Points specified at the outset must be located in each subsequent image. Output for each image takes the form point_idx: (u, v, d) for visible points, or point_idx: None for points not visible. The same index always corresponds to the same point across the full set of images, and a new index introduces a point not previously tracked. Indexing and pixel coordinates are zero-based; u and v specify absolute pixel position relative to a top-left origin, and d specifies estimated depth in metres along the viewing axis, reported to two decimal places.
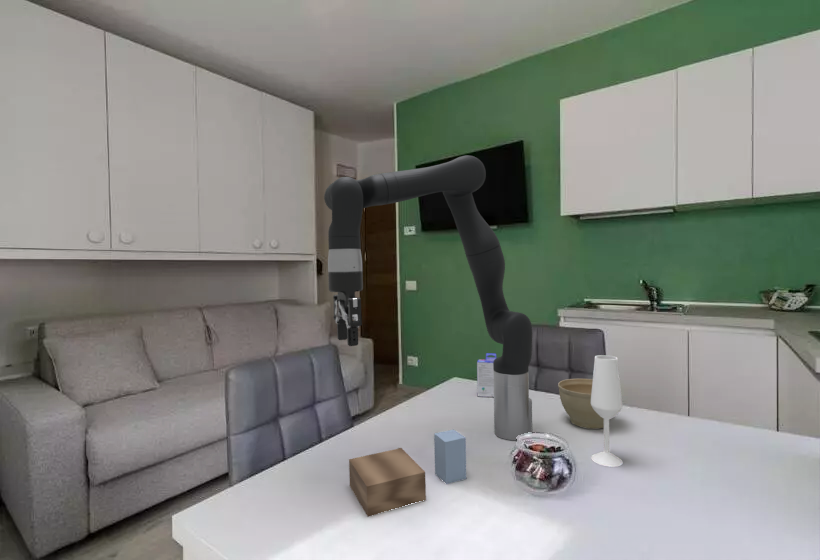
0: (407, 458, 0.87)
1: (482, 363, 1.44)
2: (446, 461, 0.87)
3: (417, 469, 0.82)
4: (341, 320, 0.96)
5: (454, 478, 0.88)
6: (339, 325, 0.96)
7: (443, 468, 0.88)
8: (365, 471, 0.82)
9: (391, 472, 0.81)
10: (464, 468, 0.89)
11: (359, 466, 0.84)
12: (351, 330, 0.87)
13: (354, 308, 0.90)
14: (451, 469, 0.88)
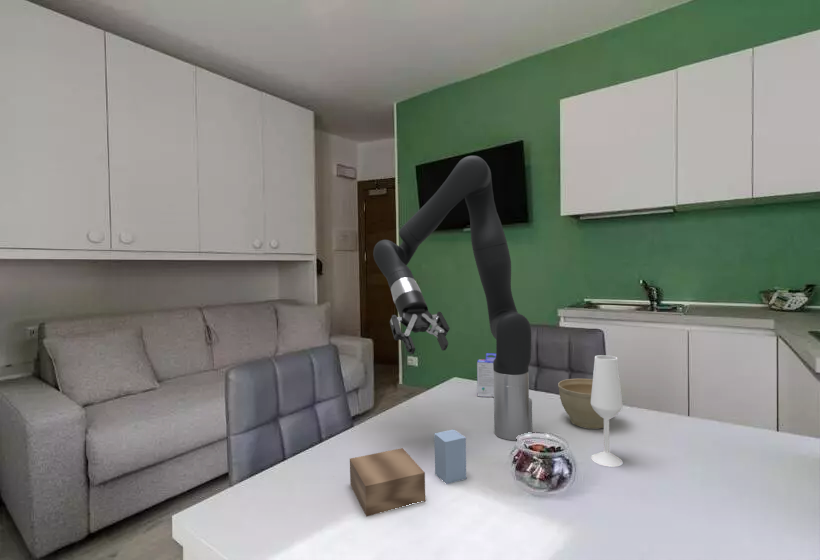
0: (407, 458, 0.87)
1: (482, 363, 1.44)
2: (446, 461, 0.87)
3: (417, 470, 0.82)
4: (438, 333, 1.02)
5: (454, 478, 0.88)
6: (438, 338, 1.02)
7: (443, 468, 0.88)
8: (365, 471, 0.82)
9: (391, 472, 0.81)
10: (464, 468, 0.89)
11: (359, 465, 0.84)
12: (404, 341, 0.98)
13: (409, 322, 1.01)
14: (451, 469, 0.88)
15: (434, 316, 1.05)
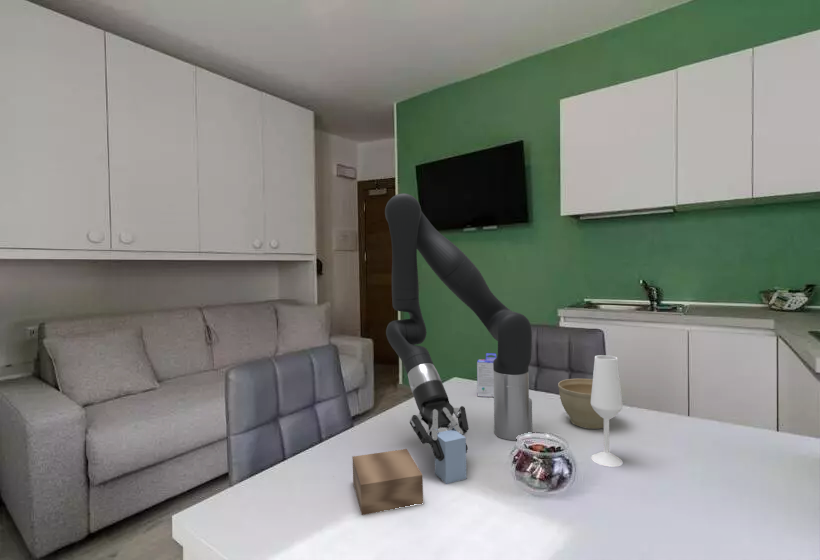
0: (409, 460, 0.86)
1: (482, 363, 1.44)
2: (446, 461, 0.87)
3: (415, 471, 0.81)
4: None
5: (454, 478, 0.88)
6: None
7: (443, 468, 0.88)
8: (364, 469, 0.83)
9: (389, 472, 0.81)
10: (464, 468, 0.89)
11: (360, 464, 0.85)
12: (431, 445, 0.90)
13: (431, 421, 0.93)
14: (451, 469, 0.88)
15: (456, 410, 0.97)
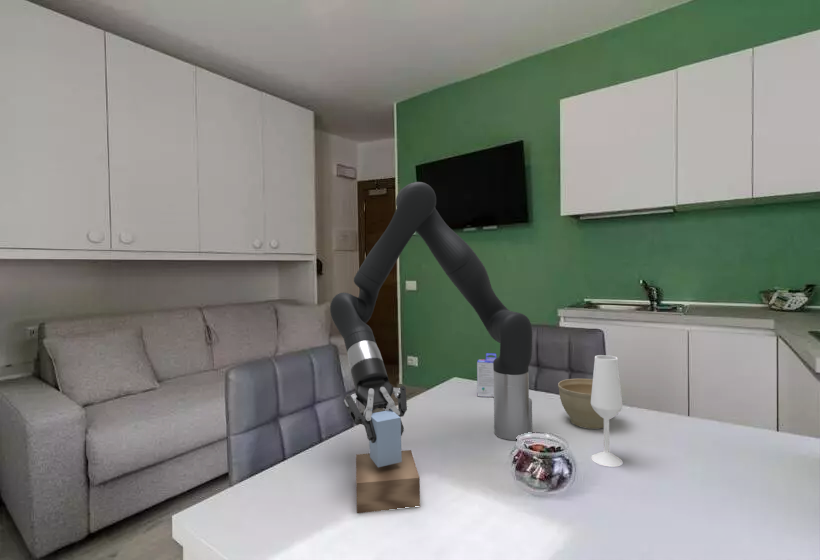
0: (410, 461, 0.86)
1: (482, 363, 1.44)
2: (378, 442, 0.81)
3: (413, 474, 0.80)
4: None
5: (387, 461, 0.82)
6: None
7: (376, 450, 0.82)
8: (363, 468, 0.83)
9: (387, 472, 0.81)
10: (399, 451, 0.83)
11: (361, 462, 0.86)
12: (365, 426, 0.84)
13: (366, 401, 0.86)
14: (383, 452, 0.81)
15: (396, 390, 0.90)
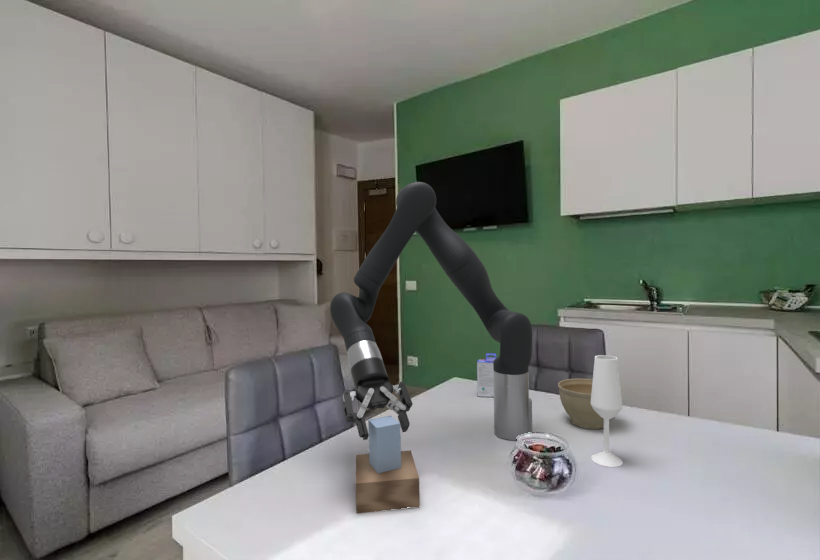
0: (410, 461, 0.85)
1: (482, 363, 1.44)
2: (378, 448, 0.81)
3: (413, 474, 0.80)
4: (398, 410, 0.88)
5: (387, 467, 0.82)
6: (398, 416, 0.87)
7: (376, 456, 0.82)
8: (363, 468, 0.83)
9: (387, 473, 0.81)
10: (398, 456, 0.83)
11: (361, 462, 0.86)
12: (356, 423, 0.84)
13: (364, 399, 0.86)
14: (383, 458, 0.81)
15: (395, 387, 0.91)
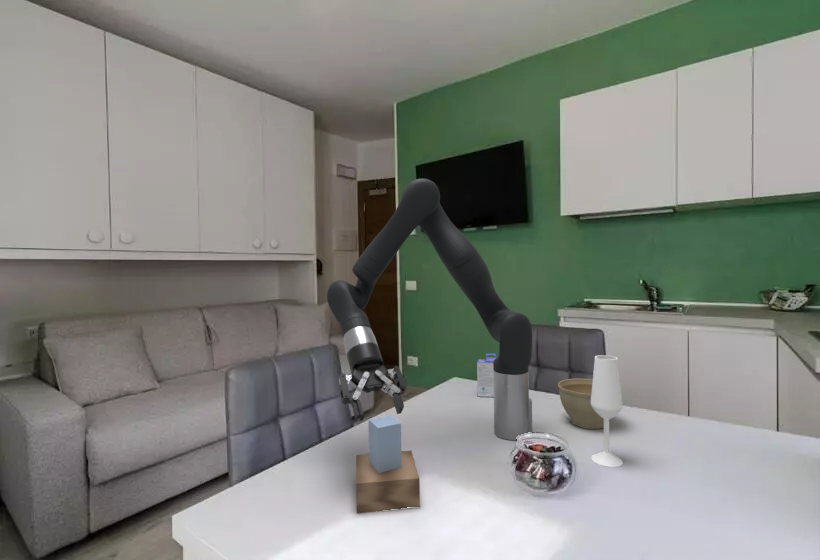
0: (410, 462, 0.85)
1: (482, 363, 1.44)
2: (379, 448, 0.81)
3: (413, 474, 0.80)
4: (393, 393, 0.90)
5: (388, 467, 0.82)
6: (393, 399, 0.90)
7: (376, 456, 0.82)
8: (363, 468, 0.83)
9: (387, 473, 0.81)
10: (399, 456, 0.83)
11: (361, 462, 0.86)
12: (352, 405, 0.86)
13: (359, 382, 0.89)
14: (384, 458, 0.81)
15: (390, 371, 0.93)
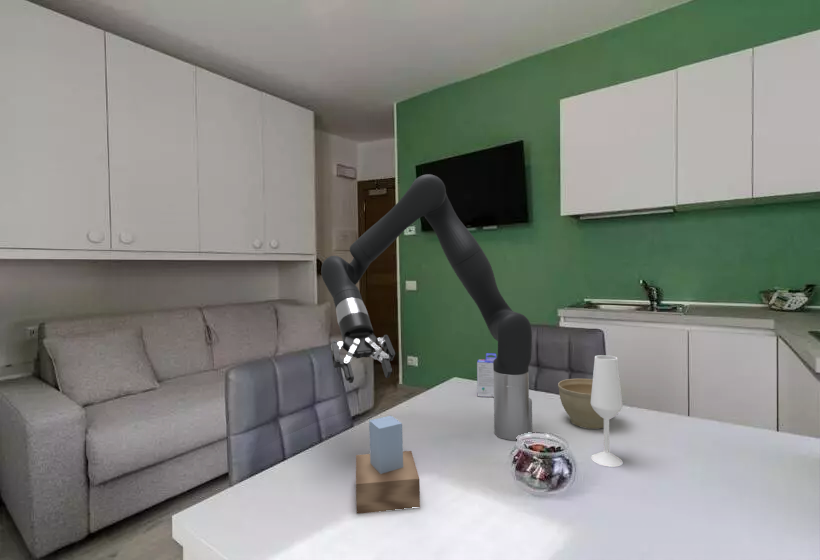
0: (410, 462, 0.85)
1: (482, 363, 1.44)
2: (380, 449, 0.81)
3: (413, 474, 0.80)
4: (382, 359, 0.96)
5: (390, 467, 0.82)
6: (382, 364, 0.95)
7: (378, 457, 0.81)
8: (363, 469, 0.83)
9: (387, 473, 0.81)
10: (400, 456, 0.83)
11: (361, 463, 0.85)
12: (343, 369, 0.91)
13: (350, 348, 0.94)
14: (386, 458, 0.81)
15: (380, 340, 0.99)
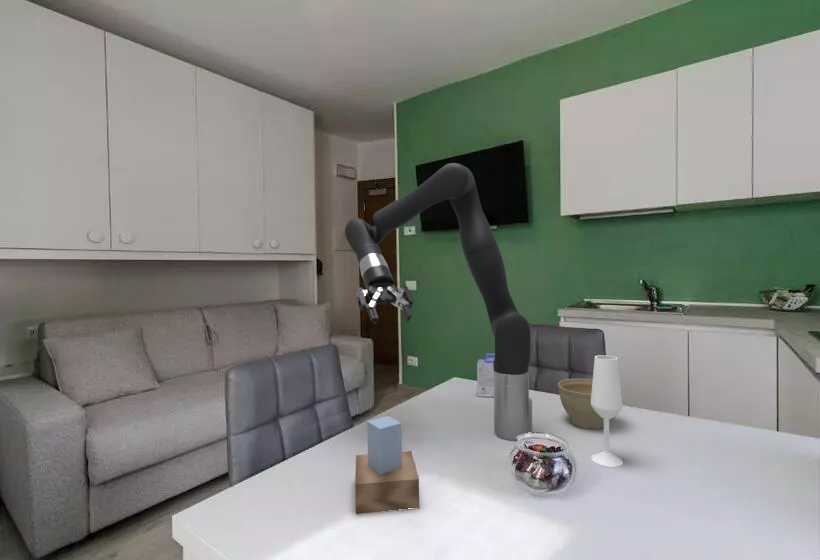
0: (410, 462, 0.85)
1: (482, 363, 1.44)
2: (381, 450, 0.80)
3: (412, 475, 0.80)
4: (402, 306, 1.07)
5: (389, 467, 0.82)
6: (402, 310, 1.06)
7: (378, 457, 0.81)
8: (363, 469, 0.83)
9: (386, 473, 0.81)
10: (399, 456, 0.83)
11: (361, 463, 0.85)
12: (368, 312, 1.02)
13: None
14: (385, 458, 0.81)
15: (400, 290, 1.10)
